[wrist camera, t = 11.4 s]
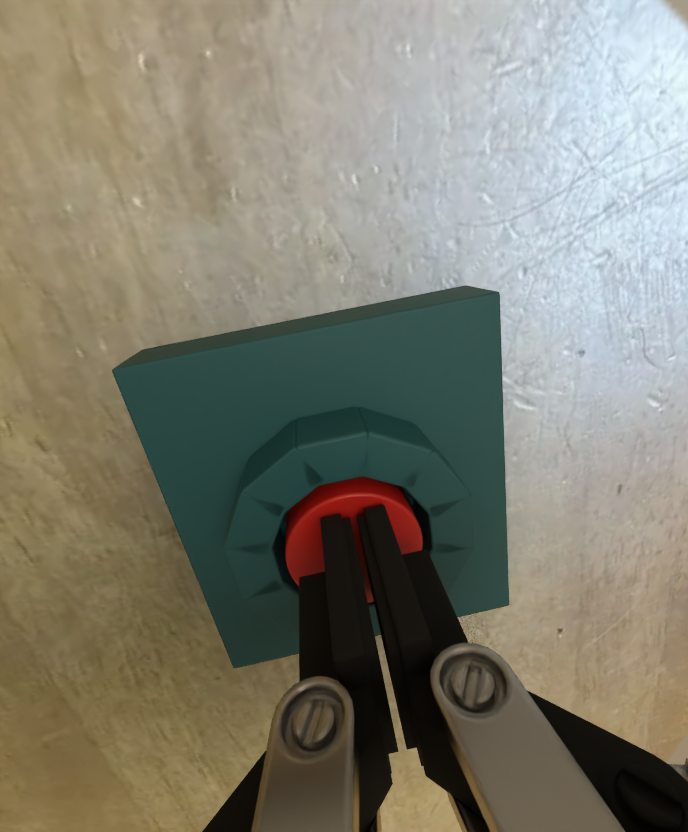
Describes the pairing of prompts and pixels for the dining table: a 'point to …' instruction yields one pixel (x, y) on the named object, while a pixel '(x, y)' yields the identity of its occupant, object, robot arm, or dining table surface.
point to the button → (350, 502)
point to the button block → (328, 447)
